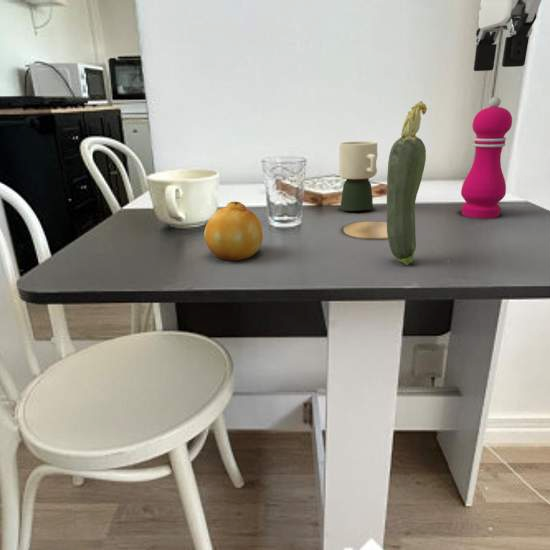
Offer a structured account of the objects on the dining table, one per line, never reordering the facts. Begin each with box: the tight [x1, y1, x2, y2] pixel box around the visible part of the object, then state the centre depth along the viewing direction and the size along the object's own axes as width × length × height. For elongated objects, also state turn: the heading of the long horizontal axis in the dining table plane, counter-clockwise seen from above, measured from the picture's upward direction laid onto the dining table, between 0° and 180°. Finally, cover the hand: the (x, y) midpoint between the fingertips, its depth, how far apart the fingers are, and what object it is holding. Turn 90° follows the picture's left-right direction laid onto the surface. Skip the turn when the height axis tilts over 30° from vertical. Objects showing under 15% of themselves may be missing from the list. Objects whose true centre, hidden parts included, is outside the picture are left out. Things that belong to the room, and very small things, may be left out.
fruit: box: [203, 200, 264, 261], centre depth 62 cm, size 8×8×8 cm
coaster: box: [343, 220, 388, 240], centre depth 72 cm, size 10×10×1 cm
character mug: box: [338, 140, 378, 213], centre depth 84 cm, size 11×7×13 cm, turn 24°
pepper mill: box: [460, 96, 513, 219], centre depth 76 cm, size 7×7×20 cm
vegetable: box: [386, 100, 428, 266], centre depth 55 cm, size 4×4×20 cm
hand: (497, 68), depth 71 cm, fingers open, 9 cm apart
